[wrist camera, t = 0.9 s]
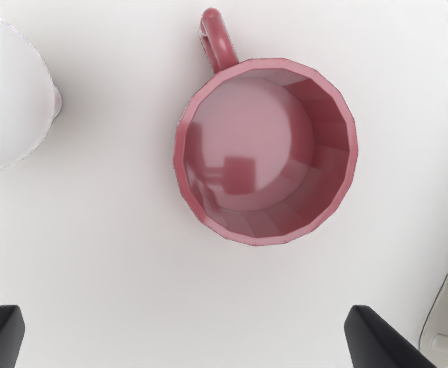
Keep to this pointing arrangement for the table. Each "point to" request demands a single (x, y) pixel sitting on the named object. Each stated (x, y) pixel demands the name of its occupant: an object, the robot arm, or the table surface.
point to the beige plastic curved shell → (437, 331)
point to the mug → (262, 145)
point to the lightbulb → (23, 97)
